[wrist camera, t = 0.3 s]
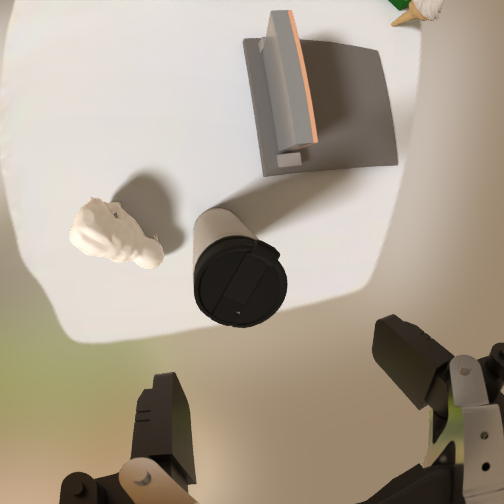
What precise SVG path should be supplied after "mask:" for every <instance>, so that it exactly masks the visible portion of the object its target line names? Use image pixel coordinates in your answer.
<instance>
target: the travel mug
mask: <svg viewBox="0 0 504 504" xmlns="http://www.w3.org/2000/svg"><path fill="white" fill-rule="evenodd" d="M279 257H280V253H279V252H278V251H277V250H276V249H275V248H274V247H272V246H271V245H269V244H267V243H265V242H263V241H261V240H259V239H258V238H257V237H256V236H255V235H254V234H253V233H252V232H251V231H250V230H249V229H248V228H247V227H246V226H245V225H244V224H243V223H242V222H241V221H240V220H239V219H238V218H237V217H236V216H235V215H234V214H233V213H232V212H230V211H229V210H226V209H223V208H212V209H209V210H207V211H205V212H204V213H202V214H201V215H200V216H199V217H198V219H197V220H196V223H195V225H194V233H193V283H194V297H195V300H196V303H197V305H198V307H199V309H200V310H201V311H202V312H203V313H204V314H205V315H206V316H208V317H210V318H211V319H212V320H213V321H215V322H217V323H219V324H223V325H226V326H233V327H238V328H246V327H251V326H255V325H257V324H260V323H262V322H264V321H265V320H267V319H269V318H270V317H271V316H272V315H274V314H275V313H276V311H277V310H278V309H279V308H280V306H281V305H282V303H283V301H284V299H285V296H286V293H287V285H288V284H287V276H286V273H285V270H284V268H283V267H282V265H281V263H280V262H279V261H278V258H279Z"/></svg>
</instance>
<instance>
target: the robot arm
mask: <svg viewBox="0 0 504 504" xmlns="http://www.w3.org/2000/svg"><path fill="white" fill-rule="evenodd" d="M372 353H373V357H374V359H375V361H376V362H377V364H378V365H379V366H380V367H381V368H382V369H383V370H384V371H385V372H386V373H387V374H388V376H389V377H390V378H391V379H392V380H393V381H394V382H395V384H396V385H397V386H398V387H399V388H400V389H401V390H402V391H403V393H405V395H406V396H407V397H408V398H409V399H410V400H411V402H412V403H413V404H414V405H415V406H416V407H417V408H418V410H421V409H422V408H424V407H425V406H427V405H429V406H430V407H431V409H430V411H429V439H428V450H427V454H426V456H425V459H424V462H423V466H421V465H420V464H417V465H416V466H414V467H413V468H411V469H410V470H408V471H406V472H404V473H403V474H401V475H399V476H398V477H396V478H394V479H392V480H391V481H390V482H389V483H388V484H387V485H386V486H384V487H383V488H382V489H381V490H379V491H378V492H377V493H376V494H375V495H373V496H372V497H371V498H369V499H368V500H366V501H364V502H361V503H357V504H504V395H503V394H502V393H501V392H500V391H501V389H502V387H503V386H504V343H497V344H495V345H494V346H493V347H492V349H491V352H490V354H489V356H487V357H484V358H481V359H478V360H476V359H475V358H473V357H471V356H468V355H459V356H456V357H455V356H454V355H452V354H451V353H450V352H449V351H448V350H446V349H445V348H444V347H443V346H441V345H440V344H439V343H438V342H436V341H435V340H434V339H431V337H430V336H429V335H428V334H426V333H424V331H422V330H421V329H420V328H419V327H418V326H416V325H414V324H411V323H409V322H406V321H405V322H404V321H402V320H401V319H400V318H398V317H397V316H396V315H394V314H392V315H389V316H386V317H384V318H382V319H379V320H377V321H376V324H375V330H374V339H373V346H372ZM190 484H196V475H195V466H194V456H193V445H192V432H191V419H190V409H189V404H188V401H187V398H186V396H185V394H184V391H183V389H182V387H181V385H180V382H179V380H178V378H177V376H176V373H175V372H170V373H163V374H155V375H154V380H153V389H144V391H143V392H142V394H141V395H140V397H139V399H138V401H137V408H136V416H135V423H134V432H133V441H132V452H131V458H130V460H129V461H128V462H126V463H125V464H124V465H123V466H122V468H121V469H120V471H119V472H118V473H117V474H113V475H109V476H105V477H101V478H97V479H93V478H92V477H91V476H89V475H88V474H86V473H83V472H74V473H71V474H69V475H68V476H67V477H66V478H65V479H64V480H63V482H62V485H61V492H60V503H59V504H199V503H198V502H197V501H196V500H195V499H194V498H192V497H191V496H190V495H189V494H188V485H190Z"/></svg>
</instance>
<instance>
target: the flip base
mask: <svg viewBox="0 0 504 504" xmlns="http://www.w3.org/2000/svg"><path fill="white" fill-rule="evenodd" d="M265 39H266V37H262V38H249V39H244V40H243V47H244V53H245V59H246V65H247V71H248V77H249V83H250V89H251V96H252V102H253V108H254V115H255V122H256V128H257V135H258V142H259V149H260V156H261V163H262V170H263V177H268V176H275V175H283V174H291V173H300V172H309V171H319V170H330V169H342V168H356V167H372V166H393V165H398V162H397V152H396V143H395V135H394V128H393V121H392V115H391V109H390V103H389V98H388V93H387V88H386V83H385V79H384V75H383V70H382V66H381V62H380V58H379V55H378V51H377V50H372V49H367V48H362V47H357V46H351V45H345V44H338V43H331V42H322V41H313V40H300V39H299V41H300V45H301V50H302V54H303V59H304V64H305V68H306V73H307V78H308V84H309V89H310V94H311V100H312V106H313V112H314V118H315V125H316V131H317V138H318V143H315V144H312V145H308V146H305V147H302V148H299V149H296V150H293V151H283V152H278V146H277V139H276V132H275V125H274V119H273V112H272V106H271V100H270V94H269V88H268V82H267V76H266V71H265V65H264V59H263V50H264V45H265Z"/></svg>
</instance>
